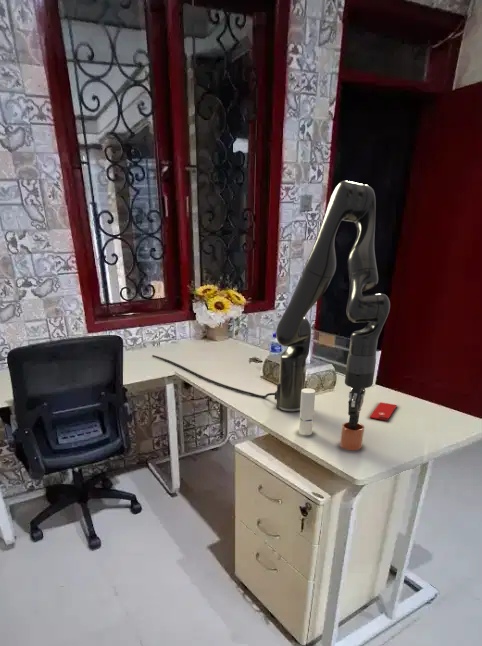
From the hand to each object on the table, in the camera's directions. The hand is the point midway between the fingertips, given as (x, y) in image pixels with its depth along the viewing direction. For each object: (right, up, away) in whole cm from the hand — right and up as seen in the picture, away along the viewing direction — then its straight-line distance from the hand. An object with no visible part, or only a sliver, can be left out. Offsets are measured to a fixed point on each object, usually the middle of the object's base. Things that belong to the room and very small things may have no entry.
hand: (353, 424), depth 123 cm
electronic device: (+20, +5, +25) cm, 32 cm away
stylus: (0, -6, +3) cm, 7 cm away
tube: (-11, -3, +13) cm, 17 cm away
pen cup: (0, -7, +3) cm, 8 cm away
